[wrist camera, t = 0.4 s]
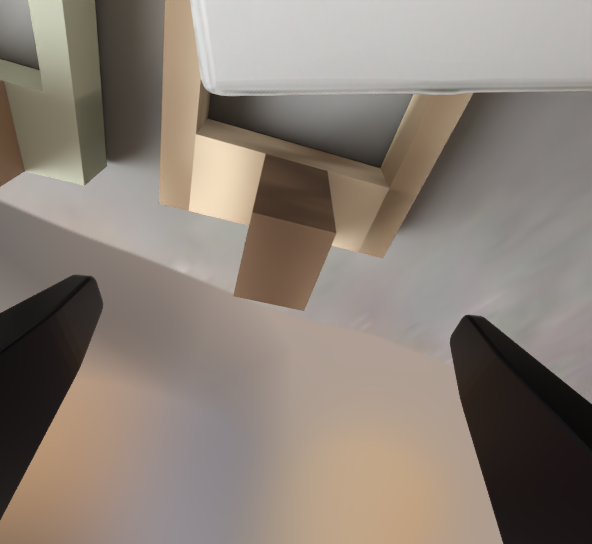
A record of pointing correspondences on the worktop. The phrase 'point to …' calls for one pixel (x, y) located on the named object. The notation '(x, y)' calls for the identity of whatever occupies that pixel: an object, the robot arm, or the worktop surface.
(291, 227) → the ash sled frame
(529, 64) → the supplement box
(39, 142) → the tray
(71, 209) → the worktop surface
